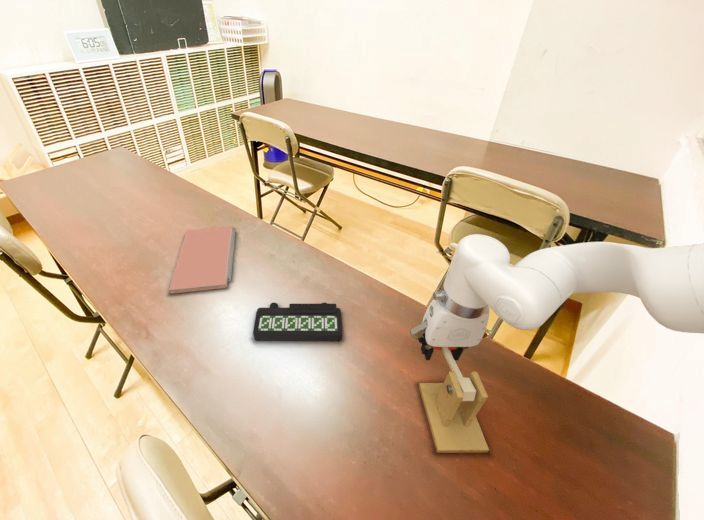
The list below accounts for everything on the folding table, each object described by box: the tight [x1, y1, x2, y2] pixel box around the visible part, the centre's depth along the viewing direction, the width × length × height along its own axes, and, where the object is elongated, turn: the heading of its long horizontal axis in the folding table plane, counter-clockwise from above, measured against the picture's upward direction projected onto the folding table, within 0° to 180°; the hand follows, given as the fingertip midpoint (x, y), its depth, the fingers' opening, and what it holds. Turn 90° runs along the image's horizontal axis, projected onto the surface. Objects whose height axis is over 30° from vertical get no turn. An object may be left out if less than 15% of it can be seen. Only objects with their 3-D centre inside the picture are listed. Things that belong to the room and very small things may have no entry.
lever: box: [433, 346, 476, 401], centre depth 61 cm, size 12×5×2 cm, turn 179°
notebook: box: [168, 225, 236, 295], centre depth 101 cm, size 27×17×2 cm, turn 6°
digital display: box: [252, 302, 343, 342], centre depth 80 cm, size 21×3×10 cm
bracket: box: [418, 371, 490, 454], centre depth 59 cm, size 12×9×13 cm
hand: (439, 353), depth 67 cm, fingers closed on lever, 5 cm apart
